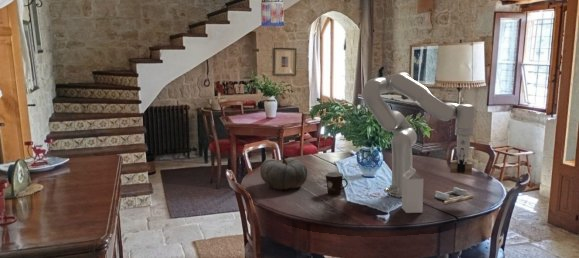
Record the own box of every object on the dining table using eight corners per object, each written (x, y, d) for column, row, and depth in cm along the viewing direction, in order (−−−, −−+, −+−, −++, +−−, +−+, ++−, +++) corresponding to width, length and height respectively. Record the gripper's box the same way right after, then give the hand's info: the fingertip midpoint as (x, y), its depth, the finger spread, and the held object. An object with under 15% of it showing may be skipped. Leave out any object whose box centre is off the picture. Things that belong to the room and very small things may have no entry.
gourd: (248, 181, 231) (254, 150, 229) (282, 180, 249) (287, 150, 247) (280, 196, 214) (287, 162, 212) (314, 193, 232) (320, 161, 230)
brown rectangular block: (471, 174, 196) (472, 164, 195) (450, 172, 200) (450, 161, 199) (471, 172, 200) (472, 162, 199) (450, 170, 203) (451, 160, 202)
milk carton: (417, 207, 195) (418, 166, 192) (422, 213, 188) (423, 170, 185) (401, 207, 195) (402, 166, 192) (406, 213, 188) (407, 170, 185)
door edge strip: (445, 204, 199) (445, 201, 199) (444, 203, 200) (444, 201, 200) (473, 197, 207) (473, 195, 207) (471, 197, 208) (471, 195, 208)
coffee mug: (322, 192, 220) (322, 173, 218) (338, 190, 223) (338, 171, 221) (333, 199, 209) (333, 178, 208) (349, 196, 212) (349, 176, 211)
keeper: (447, 201, 203) (448, 195, 202) (434, 196, 210) (434, 190, 209) (467, 197, 208) (467, 191, 208) (454, 192, 216) (454, 186, 215)
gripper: (472, 135, 187) (469, 176, 191) (472, 129, 203) (469, 167, 206) (454, 134, 190) (451, 174, 193) (455, 128, 206) (452, 166, 209)
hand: (460, 170), depth 200 cm, fingers closed on brown rectangular block, 4 cm apart
